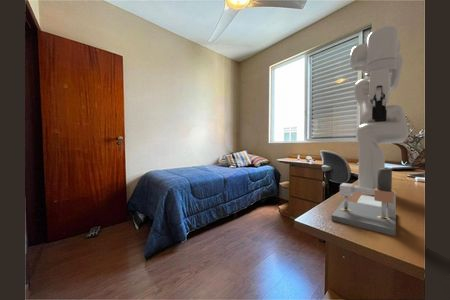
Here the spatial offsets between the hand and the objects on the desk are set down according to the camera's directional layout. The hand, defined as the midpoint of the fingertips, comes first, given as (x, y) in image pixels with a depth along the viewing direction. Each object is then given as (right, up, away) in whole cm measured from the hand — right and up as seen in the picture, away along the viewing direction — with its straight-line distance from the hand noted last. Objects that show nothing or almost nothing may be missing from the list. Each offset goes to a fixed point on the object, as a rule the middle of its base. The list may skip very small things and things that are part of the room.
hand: (379, 120), depth 61 cm
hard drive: (+3, -31, +7) cm, 32 cm away
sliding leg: (-7, -29, -10) cm, 31 cm away
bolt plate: (-9, -31, -5) cm, 32 cm away
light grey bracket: (-9, -29, -6) cm, 31 cm away
